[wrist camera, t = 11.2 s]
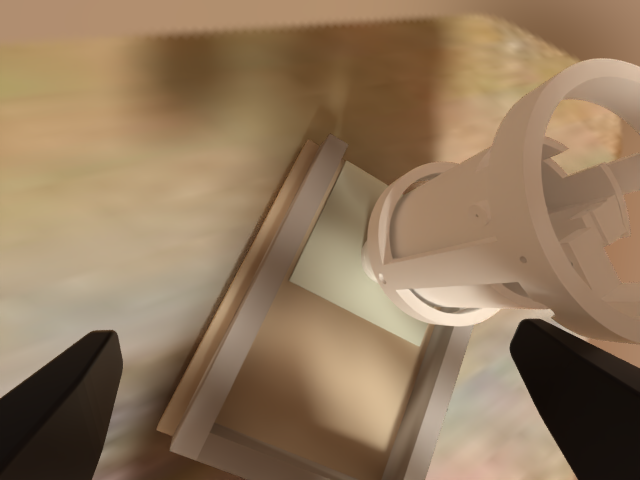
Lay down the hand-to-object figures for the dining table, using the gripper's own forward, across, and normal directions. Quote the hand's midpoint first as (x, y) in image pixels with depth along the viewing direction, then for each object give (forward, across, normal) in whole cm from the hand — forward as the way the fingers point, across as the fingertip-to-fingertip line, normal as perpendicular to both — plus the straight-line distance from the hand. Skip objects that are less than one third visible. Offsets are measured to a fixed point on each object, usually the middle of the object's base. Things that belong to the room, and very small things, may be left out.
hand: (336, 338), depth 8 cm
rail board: (+11, -4, +9) cm, 14 cm away
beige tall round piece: (+12, -6, +5) cm, 14 cm away
